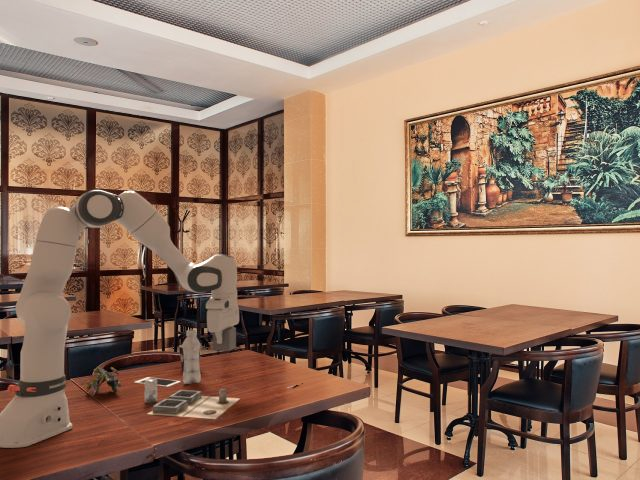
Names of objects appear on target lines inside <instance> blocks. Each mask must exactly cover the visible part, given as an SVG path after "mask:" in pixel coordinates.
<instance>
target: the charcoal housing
mask: <svg viewBox="0 0 640 480" xmlns="http://www.w3.org/2000/svg"><path fill="white" fill-rule="evenodd" d="M222 338H223V343H221V344H218V343H217V338H216V335H215V332H212V351H217V352H218V351H220V352H221V351H222V352H223V351H224V352H230V351H232V350H234V349H236V348H237V327H234V326H233V327H229V328H227V329H224V330H223V333H222Z"/></svg>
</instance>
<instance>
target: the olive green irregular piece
mask: <svg viewBox="0 0 640 480" xmlns="http://www.w3.org/2000/svg"><path fill="white" fill-rule="evenodd" d="M110 370H111V371H112V372H109V371H107V370H105V369H104V368H101V367H99V366H98V367H97V370H96V369H95V368H94V369H93V373H94V374H96V379H93V380H92V381H90V382H87V381H85V379H82V380H81V383H80V385H81V386H83V385H84V384H83V383H85V384H87V386H86V391H85V392H86V393H88V391H89V390H91V388H92V387H93V394H92V396H91V398H93V397H94V396H95V394H96V393H97V392H98V391H99V390H100V386H102V384H104V382H106V384H107V385H108V386H109V387H111V391H112V392H113V393H116V392H118V388H121V387H122V384H121V383H120V382H121V381H119V378H117V377H115V376H116V375H118V376H119V374H120V373H119V371H118V370H117V369H116V368H114V367H112V366H111V367H110ZM115 374H116V375H115ZM117 387H118V388H117Z"/></svg>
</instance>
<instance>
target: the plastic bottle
mask: <svg viewBox="0 0 640 480" xmlns="http://www.w3.org/2000/svg"><path fill="white" fill-rule="evenodd" d="M197 333H198V332H197V330H196V329H188V330H186V334H185V336H186V337H185V339H184V340H183V342H182V344H181V345H182V346H183V353H184V371H182V372H183V373H182V382H183V384H184V385H185V384H186V385H192V384H196V383H197V384H199V383H200V382H201V379H202V375H201V370H200V359H199V353H200V350H201V342H200V341H199V338H198V337H197V335H198V334H197Z"/></svg>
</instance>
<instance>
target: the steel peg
mask: <svg viewBox="0 0 640 480" xmlns="http://www.w3.org/2000/svg"><path fill="white" fill-rule="evenodd" d="M156 402H157V403H158V386H157V379H147V380H145V384H144V403H145V404H153V403H154V404H155V403H156Z"/></svg>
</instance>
